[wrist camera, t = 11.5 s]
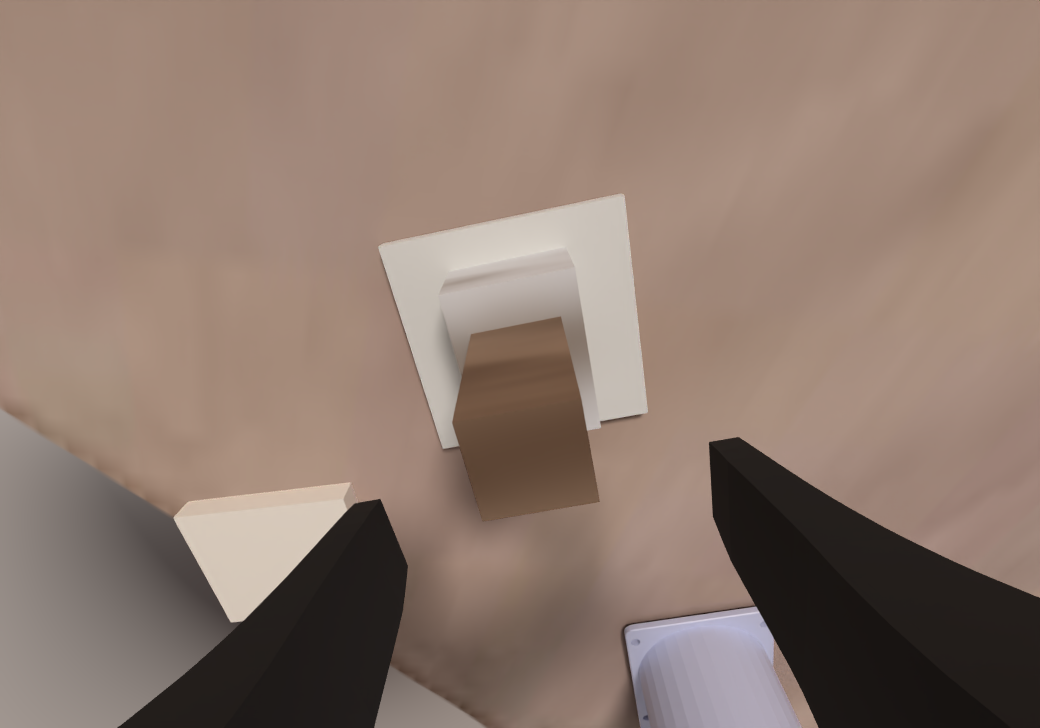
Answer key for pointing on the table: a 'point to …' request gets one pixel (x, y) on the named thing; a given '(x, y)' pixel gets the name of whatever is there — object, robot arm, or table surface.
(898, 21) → the table surface
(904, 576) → the robot arm
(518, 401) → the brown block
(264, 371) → the table surface
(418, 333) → the mat
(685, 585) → the table surface
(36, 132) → the table surface
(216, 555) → the tile
